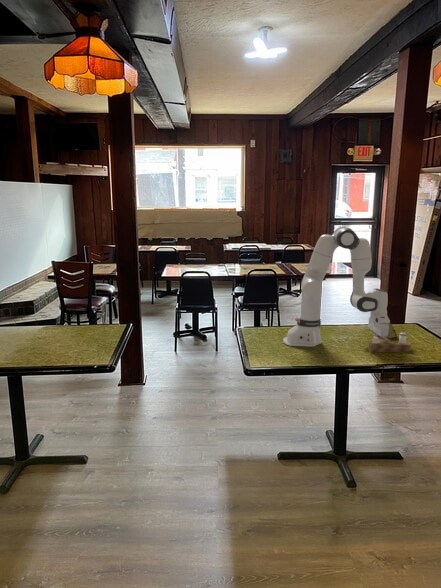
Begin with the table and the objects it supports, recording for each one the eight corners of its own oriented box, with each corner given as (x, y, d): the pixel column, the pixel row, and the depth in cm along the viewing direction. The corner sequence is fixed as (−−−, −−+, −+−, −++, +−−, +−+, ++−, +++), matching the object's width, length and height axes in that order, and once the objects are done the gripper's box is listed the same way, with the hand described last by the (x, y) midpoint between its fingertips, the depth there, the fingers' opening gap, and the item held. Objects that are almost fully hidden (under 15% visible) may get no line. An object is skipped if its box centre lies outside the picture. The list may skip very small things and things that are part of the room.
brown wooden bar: (370, 352, 236) (371, 345, 235) (368, 350, 239) (369, 343, 238) (410, 351, 237) (410, 344, 236) (407, 349, 240) (408, 342, 239)
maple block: (379, 349, 240) (380, 340, 239) (372, 345, 248) (372, 336, 247) (389, 348, 241) (390, 340, 240) (382, 344, 249) (382, 336, 248)
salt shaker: (400, 348, 243) (401, 334, 241) (397, 345, 246) (398, 332, 245) (406, 347, 243) (408, 334, 241) (403, 345, 247) (404, 332, 245)
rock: (396, 331, 267) (379, 328, 269) (400, 322, 260) (383, 319, 263) (396, 345, 260) (379, 342, 262) (400, 337, 254) (382, 334, 256)
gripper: (366, 312, 258) (364, 334, 261) (380, 321, 238) (378, 345, 240) (376, 312, 258) (375, 334, 261) (391, 321, 238) (389, 345, 241)
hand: (376, 339), depth 250 cm, fingers closed
